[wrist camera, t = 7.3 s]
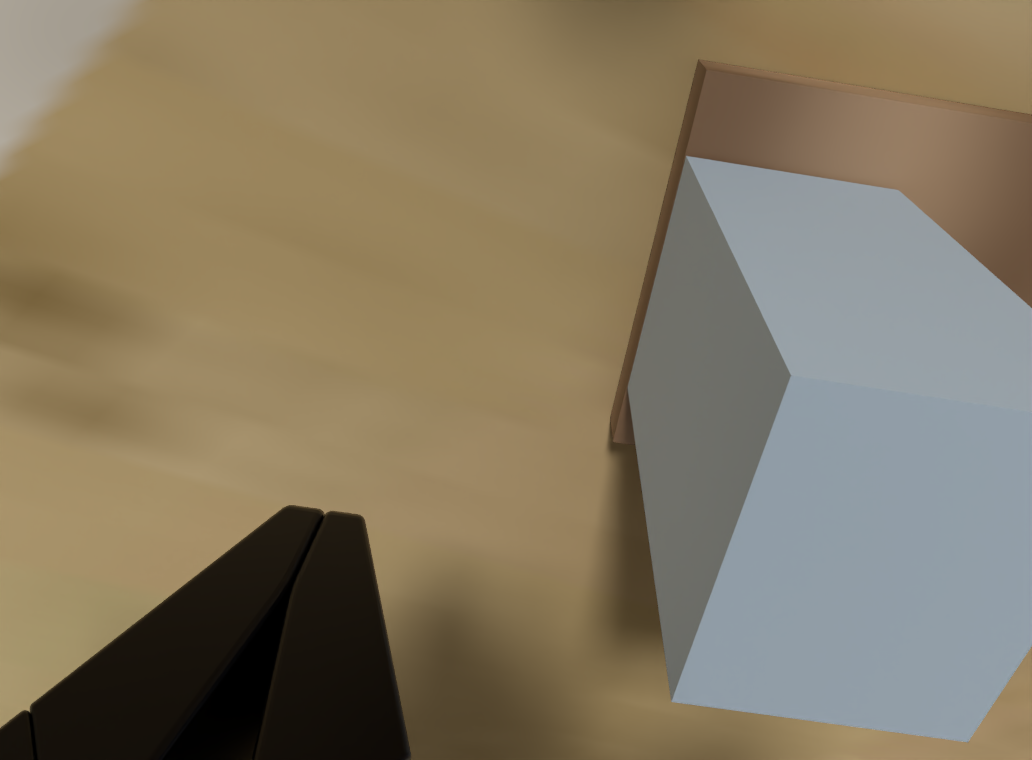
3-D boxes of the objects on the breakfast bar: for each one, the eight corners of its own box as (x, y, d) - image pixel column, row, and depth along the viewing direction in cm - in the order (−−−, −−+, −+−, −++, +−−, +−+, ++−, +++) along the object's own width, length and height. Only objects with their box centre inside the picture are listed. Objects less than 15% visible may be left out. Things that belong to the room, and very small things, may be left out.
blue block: (627, 387, 18) (671, 701, 11) (686, 155, 15) (790, 376, 8) (820, 416, 18) (983, 744, 11) (910, 191, 15) (1193, 436, 9)
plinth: (610, 417, 20) (617, 492, 17) (698, 59, 16) (724, 91, 13) (1105, 491, 20) (1180, 573, 18) (1316, 161, 16) (1451, 210, 14)
